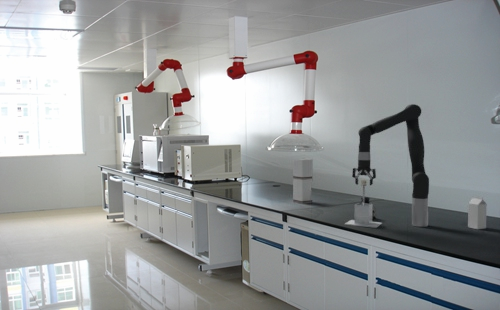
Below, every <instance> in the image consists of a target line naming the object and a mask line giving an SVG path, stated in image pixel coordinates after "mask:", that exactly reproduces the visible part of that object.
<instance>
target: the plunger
mask: <svg viewBox="0 0 500 310" xmlns="http://www.w3.org/2000/svg"><path fill="white" fill-rule="evenodd" d="M360 181H361V184H360V186H362V197H363V205H364V199H365V197H366V194H365V193H366V190H365V188H366V187H365V186H367V183H368V182H367V180H366V179H362V180H360ZM364 206H369V205H364Z"/></svg>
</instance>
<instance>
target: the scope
mask: <svg viewBox="0 0 500 310" xmlns="http://www.w3.org/2000/svg"><path fill="white" fill-rule="evenodd" d="M360 199H361V201H360V203H363V196H362V197H360ZM364 203H368V204H370V197H366V196H365V199H364ZM376 210H377V208H376V206H375V207H374V208H373V209H372V220H373V219H374V220H375V219H377V218H376V217H377V213H376V212H377V211H376Z"/></svg>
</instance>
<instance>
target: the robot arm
mask: <svg viewBox="0 0 500 310" xmlns="http://www.w3.org/2000/svg"><path fill="white" fill-rule="evenodd" d="M421 114H422V109H421V107H420V106H419V105H418V104H413V103H412V104H408V105H407V106H406V107H405V108H404V109H403V110H401V111H400V112H397V113H395V114H392V115H390V116H387V117H384V118H382V119H380V120H377V121H375V122H373V123H371V124H368V125H365V126H363V127H361V128H360V129H359V130H358V136H359V142H358V143H359V144H358V155H357V168H356V167H353V168H352V178H353V179H355V180H354V181H355V185H356V186H358V185H359V177H361V176H367V177H368V178H369V186H372V185H373V184H374V183H373V182H374V179H376V178H377V171H376V168H371V139H372V136H373V135H376V134H379V133H382V132H384V131H386V130H388V129H390V128H392V127H394V126H397V125H399V124H401V123H404V122H405V124H406V131H407V132H406V135H407V137H406V138H407V147H408V154H409V159H410V164H411V181H412V194H411V196H412V197H411V226H414V227H421V228H424V227H426V228H427V227H428V226H429V210H428V209H429V207H428V205H429V194H430V178H429V176H428V175H427V174H426V169H425V144H424V138H423V135H422V134H423V133H422V131H421V128H420V122H419V120H420V119H419V117H421ZM356 172H357V174H356ZM371 173H372V174H371Z"/></svg>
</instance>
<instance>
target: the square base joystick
mask: <svg viewBox="0 0 500 310" xmlns="http://www.w3.org/2000/svg"><path fill="white" fill-rule="evenodd" d="M364 205H369V206H364ZM364 205H363V203H361V202H358V203H355V204H354V216H353V217H354V219H353V220H354V224H361V225H370V224H371V223H372V222H373V219H372V210H373V203H369V204H368V203H364Z"/></svg>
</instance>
